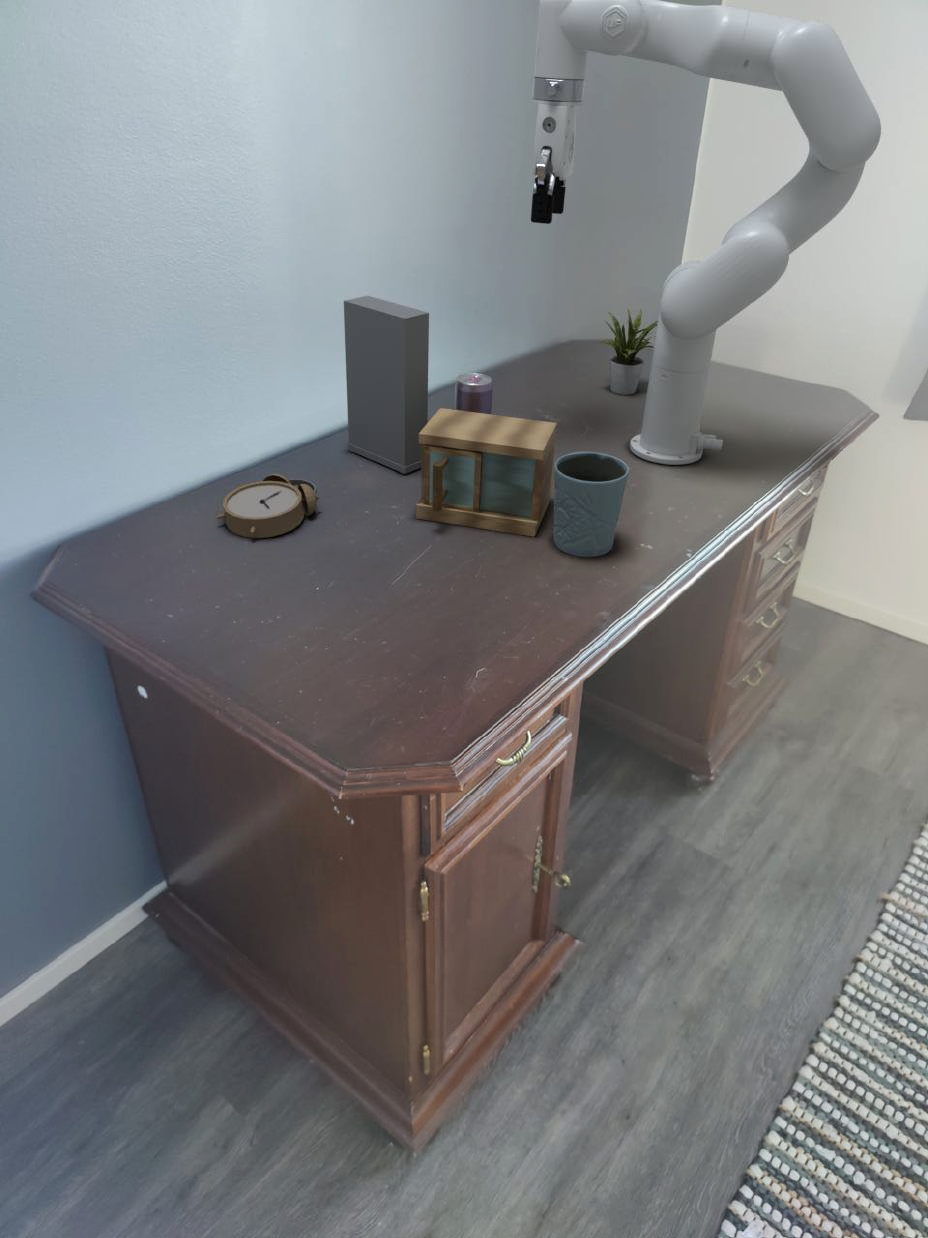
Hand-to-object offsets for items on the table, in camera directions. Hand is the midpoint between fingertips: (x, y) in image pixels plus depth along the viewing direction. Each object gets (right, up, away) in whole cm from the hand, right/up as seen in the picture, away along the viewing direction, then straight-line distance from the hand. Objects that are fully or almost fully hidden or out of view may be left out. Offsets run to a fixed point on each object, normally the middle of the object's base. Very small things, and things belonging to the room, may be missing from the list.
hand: (547, 217), depth 142 cm
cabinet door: (-16, -49, -11) cm, 52 cm away
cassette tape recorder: (-26, -37, +10) cm, 46 cm away
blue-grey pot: (+4, -53, -13) cm, 55 cm away
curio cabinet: (-10, -47, -6) cm, 49 cm away
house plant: (+20, -17, +42) cm, 50 cm away
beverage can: (-12, -38, +8) cm, 41 cm away
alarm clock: (-41, -49, -10) cm, 65 cm away
